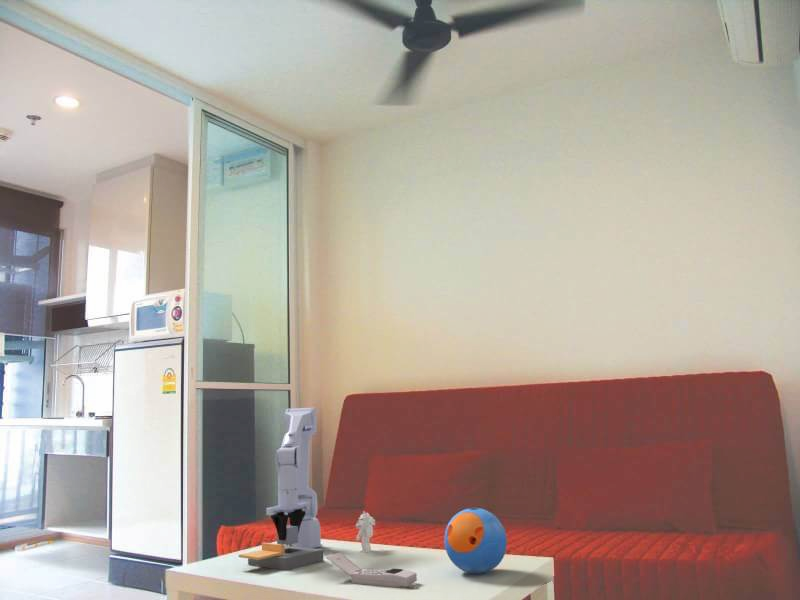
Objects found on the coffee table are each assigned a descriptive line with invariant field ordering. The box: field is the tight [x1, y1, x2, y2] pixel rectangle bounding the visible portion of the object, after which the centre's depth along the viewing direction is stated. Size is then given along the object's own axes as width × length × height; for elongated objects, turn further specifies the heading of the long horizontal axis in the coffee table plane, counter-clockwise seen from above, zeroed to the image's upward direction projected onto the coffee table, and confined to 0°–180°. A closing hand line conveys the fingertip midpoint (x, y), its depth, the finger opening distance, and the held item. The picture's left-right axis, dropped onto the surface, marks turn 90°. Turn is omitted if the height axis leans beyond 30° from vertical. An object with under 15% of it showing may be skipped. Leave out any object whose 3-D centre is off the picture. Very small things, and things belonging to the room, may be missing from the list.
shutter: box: [238, 542, 285, 560], centre depth 175 cm, size 9×8×2 cm
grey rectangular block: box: [276, 524, 298, 547], centre depth 184 cm, size 4×4×5 cm
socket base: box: [247, 545, 324, 571], centre depth 181 cm, size 14×16×3 cm
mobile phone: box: [326, 552, 418, 588], centre depth 154 cm, size 6×6×25 cm
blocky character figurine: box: [355, 510, 376, 553], centre depth 195 cm, size 9×4×12 cm, turn 152°
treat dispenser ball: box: [443, 507, 508, 575], centre depth 160 cm, size 16×15×15 cm
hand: (288, 538), depth 183 cm, fingers closed on grey rectangular block, 4 cm apart
